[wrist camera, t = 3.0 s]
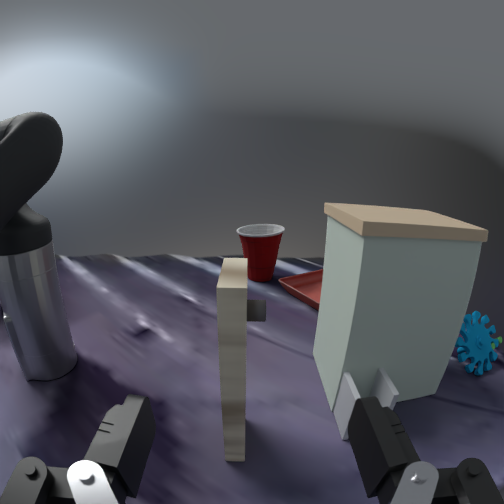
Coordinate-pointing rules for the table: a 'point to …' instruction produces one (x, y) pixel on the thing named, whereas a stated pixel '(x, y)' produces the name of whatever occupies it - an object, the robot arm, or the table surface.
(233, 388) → the tall wooden plank
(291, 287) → the plant saucer
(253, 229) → the plastic cup
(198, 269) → the table surface
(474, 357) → the gear
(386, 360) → the cabinet
